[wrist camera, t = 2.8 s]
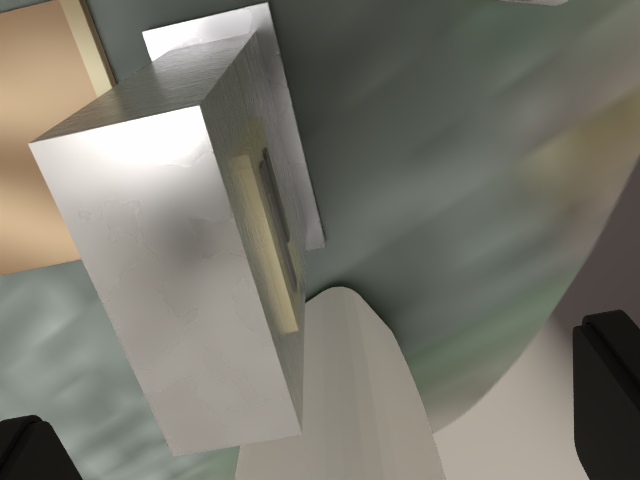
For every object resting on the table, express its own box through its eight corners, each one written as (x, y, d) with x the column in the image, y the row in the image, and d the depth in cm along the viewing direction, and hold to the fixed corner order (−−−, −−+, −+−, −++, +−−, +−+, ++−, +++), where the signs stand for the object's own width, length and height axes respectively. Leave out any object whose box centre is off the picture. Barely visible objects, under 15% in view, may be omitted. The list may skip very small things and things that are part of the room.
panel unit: (147, 29, 25) (-27, 108, 12) (268, 1, 25) (220, 50, 12) (223, 260, 30) (159, 483, 18) (325, 240, 30) (335, 454, 17)
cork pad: (-148, 49, 25) (-160, 52, 25) (82, -7, 24) (76, -6, 24) (-21, 275, 31) (-28, 281, 30) (172, 235, 30) (170, 241, 29)
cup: (345, 255, 30) (371, 487, 17) (420, 340, 33) (493, 598, 20) (244, 324, 32) (197, 580, 19) (322, 400, 35) (328, 671, 22)
